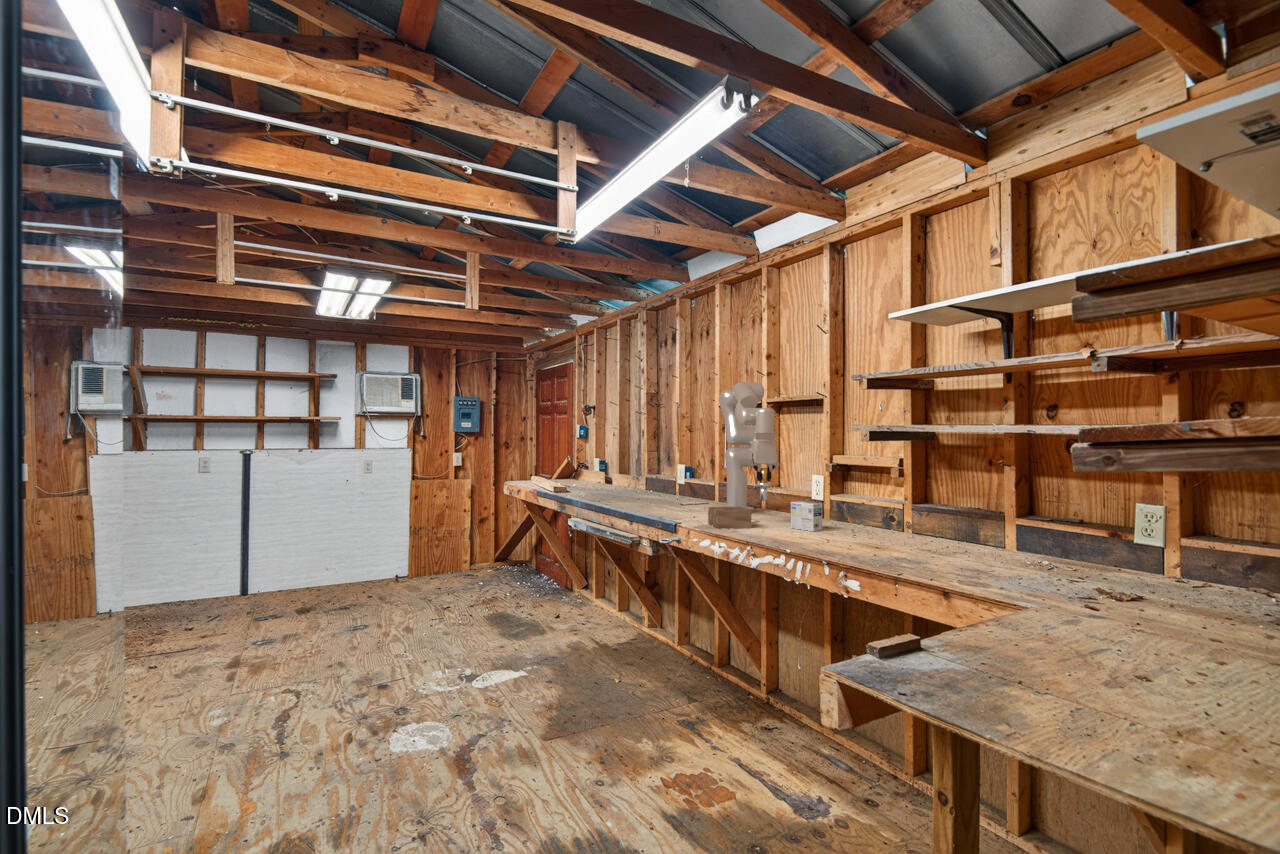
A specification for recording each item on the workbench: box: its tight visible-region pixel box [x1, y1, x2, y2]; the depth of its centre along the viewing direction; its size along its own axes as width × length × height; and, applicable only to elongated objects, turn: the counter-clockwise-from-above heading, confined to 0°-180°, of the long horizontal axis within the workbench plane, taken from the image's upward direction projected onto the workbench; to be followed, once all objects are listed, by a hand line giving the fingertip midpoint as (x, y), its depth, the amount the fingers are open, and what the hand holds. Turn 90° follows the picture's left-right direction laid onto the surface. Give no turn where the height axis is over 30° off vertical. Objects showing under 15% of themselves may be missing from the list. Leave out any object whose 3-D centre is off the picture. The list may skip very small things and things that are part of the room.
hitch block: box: [707, 506, 752, 529], centre depth 244 cm, size 14×14×7 cm
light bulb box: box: [790, 500, 823, 532], centre depth 236 cm, size 11×7×11 cm, turn 42°
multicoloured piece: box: [756, 467, 772, 502], centre depth 250 cm, size 6×6×14 cm
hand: (763, 480), depth 250 cm, fingers closed on multicoloured piece, 3 cm apart
